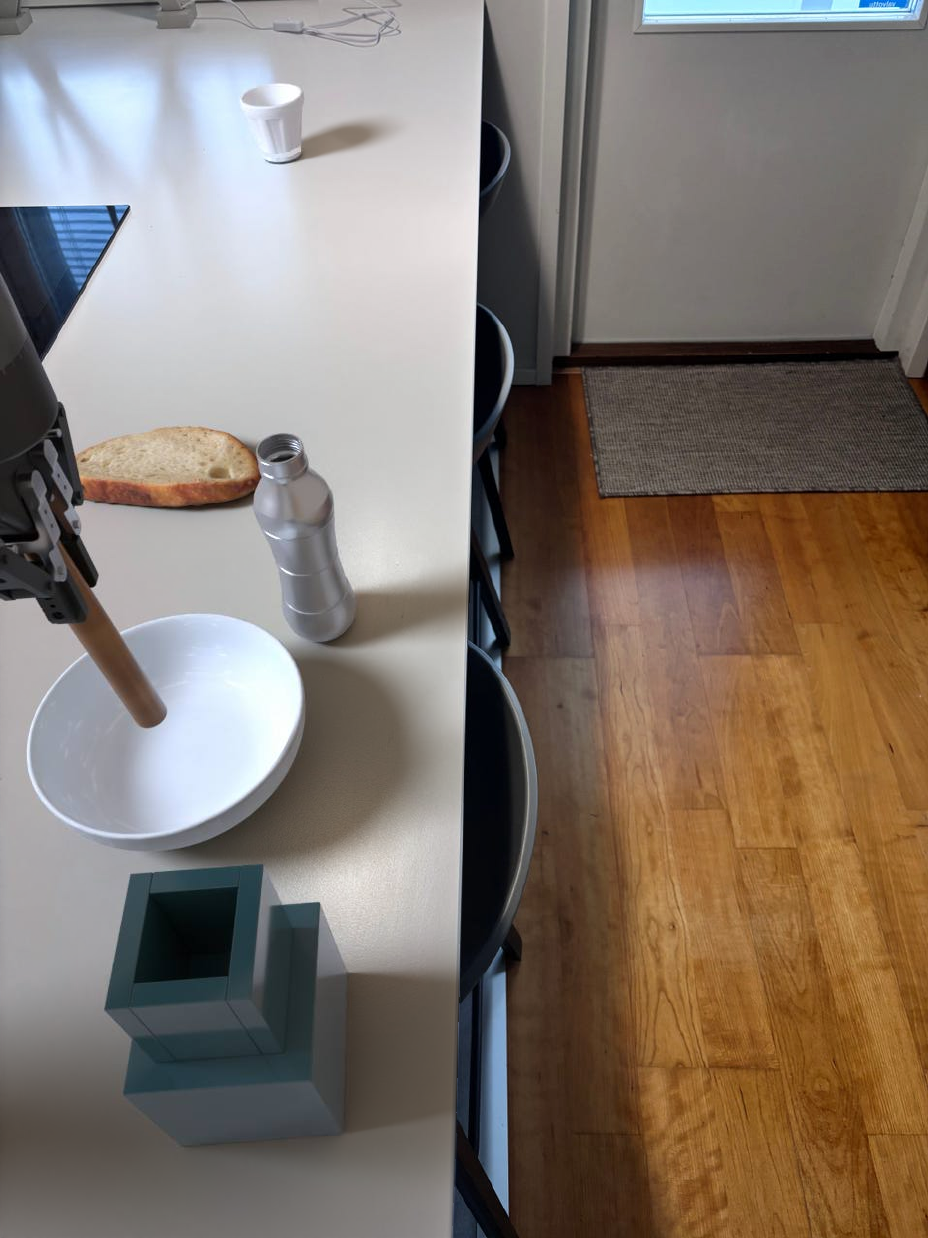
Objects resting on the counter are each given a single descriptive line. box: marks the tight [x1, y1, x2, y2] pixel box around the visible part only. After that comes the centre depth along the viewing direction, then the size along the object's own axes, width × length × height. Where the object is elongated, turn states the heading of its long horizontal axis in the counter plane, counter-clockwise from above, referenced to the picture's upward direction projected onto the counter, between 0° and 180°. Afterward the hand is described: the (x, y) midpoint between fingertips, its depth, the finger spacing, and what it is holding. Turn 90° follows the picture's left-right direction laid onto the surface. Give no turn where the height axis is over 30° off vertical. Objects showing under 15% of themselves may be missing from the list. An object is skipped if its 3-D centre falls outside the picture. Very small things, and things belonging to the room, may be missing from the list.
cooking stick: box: [24, 539, 167, 728], centre depth 58 cm, size 2×2×20 cm
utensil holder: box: [103, 863, 349, 1147], centre depth 54 cm, size 10×10×19 cm
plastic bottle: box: [252, 432, 357, 643], centre depth 78 cm, size 6×7×20 cm
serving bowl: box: [26, 612, 306, 853], centre depth 74 cm, size 21×21×7 cm
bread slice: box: [75, 425, 262, 508], centre depth 99 cm, size 18×18×4 cm
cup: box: [238, 82, 305, 165], centre depth 151 cm, size 10×10×9 cm
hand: (76, 600), depth 56 cm, fingers closed on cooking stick, 2 cm apart
